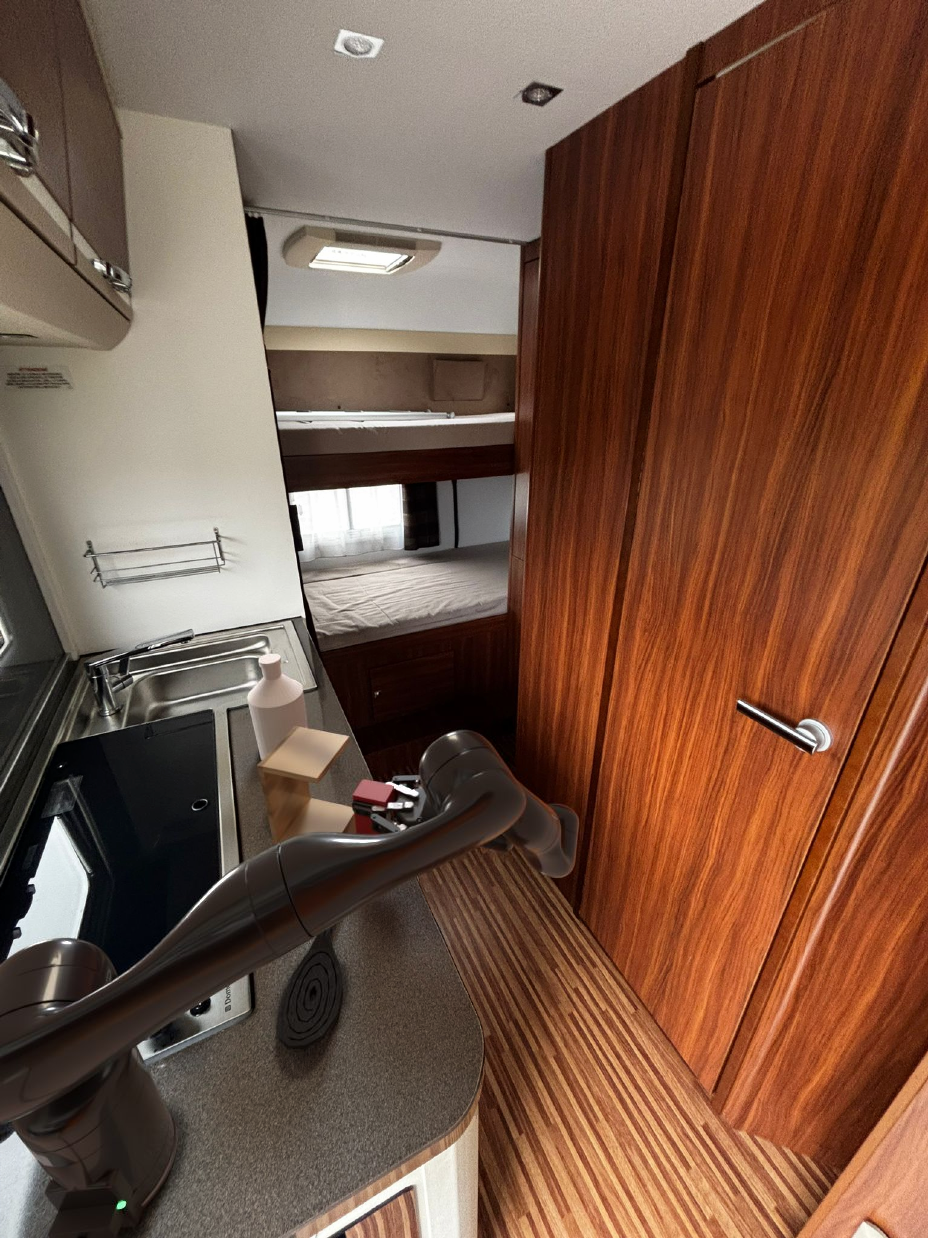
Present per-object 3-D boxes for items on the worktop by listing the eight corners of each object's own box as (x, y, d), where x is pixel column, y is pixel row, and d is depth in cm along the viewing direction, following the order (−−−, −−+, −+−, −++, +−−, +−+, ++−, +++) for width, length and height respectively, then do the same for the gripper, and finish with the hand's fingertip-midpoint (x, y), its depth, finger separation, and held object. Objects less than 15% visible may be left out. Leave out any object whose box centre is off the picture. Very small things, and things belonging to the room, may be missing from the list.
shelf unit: (331, 875, 87) (317, 778, 78) (277, 860, 90) (257, 765, 81) (359, 827, 97) (349, 736, 88) (309, 815, 99) (294, 725, 90)
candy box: (366, 821, 90) (362, 778, 86) (397, 828, 89) (394, 785, 85) (357, 838, 87) (352, 795, 83) (388, 845, 85) (385, 802, 81)
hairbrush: (360, 871, 85) (329, 1041, 61) (362, 887, 86) (331, 1058, 63) (312, 873, 84) (261, 1043, 61) (314, 888, 86) (266, 1061, 62)
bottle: (257, 741, 120) (238, 651, 110) (307, 729, 125) (294, 642, 114) (261, 772, 110) (241, 677, 100) (315, 758, 115) (301, 665, 105)
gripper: (465, 770, 86) (374, 752, 90) (440, 834, 73) (336, 810, 77) (464, 802, 89) (377, 784, 93) (441, 869, 76) (341, 844, 80)
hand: (359, 796), depth 85 cm, fingers closed on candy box, 4 cm apart
